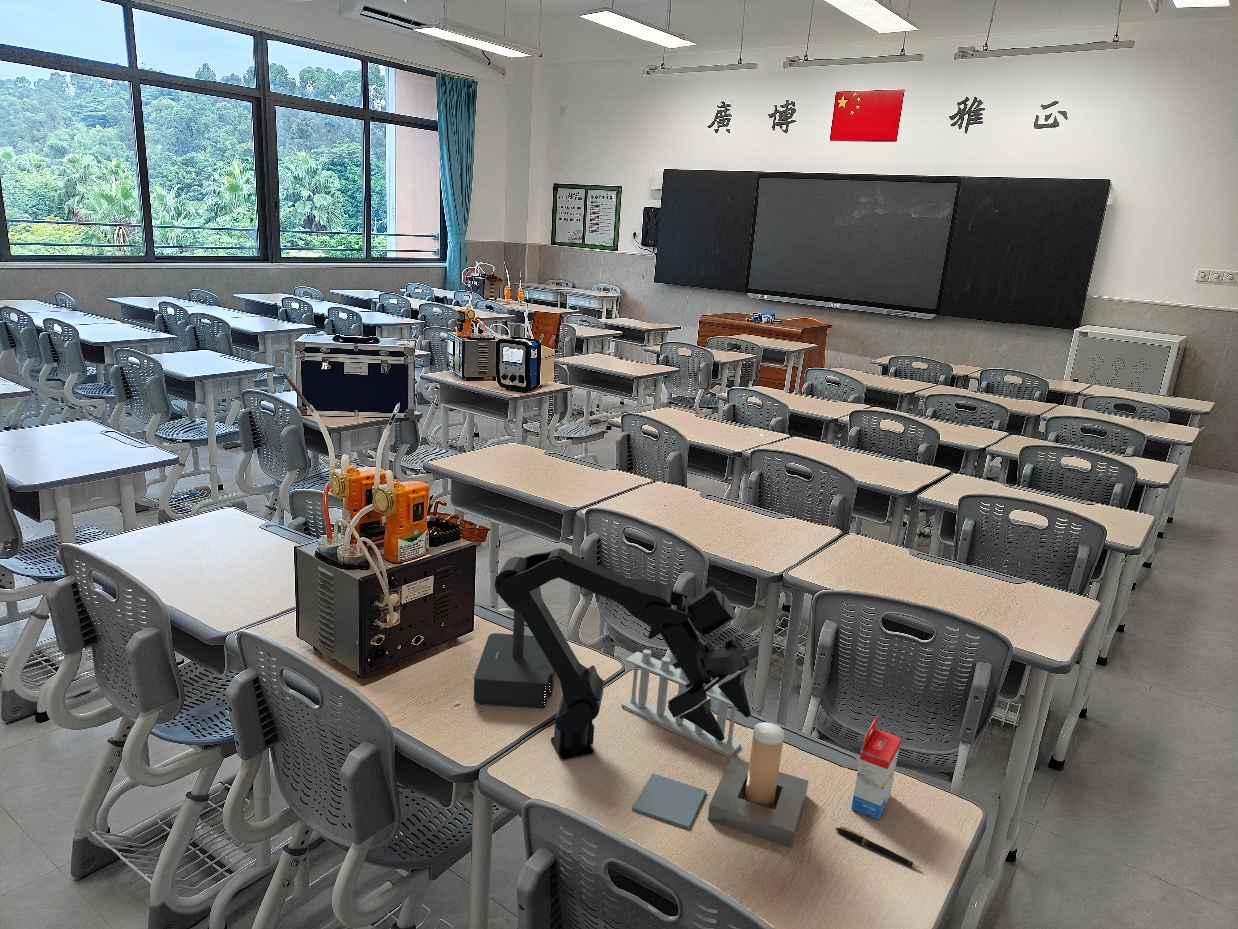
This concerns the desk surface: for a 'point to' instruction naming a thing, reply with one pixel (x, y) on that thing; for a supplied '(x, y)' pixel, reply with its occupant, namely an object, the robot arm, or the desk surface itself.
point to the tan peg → (764, 764)
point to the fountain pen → (873, 846)
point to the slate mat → (669, 800)
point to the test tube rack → (659, 712)
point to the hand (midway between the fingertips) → (736, 728)
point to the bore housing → (754, 816)
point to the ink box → (875, 771)
